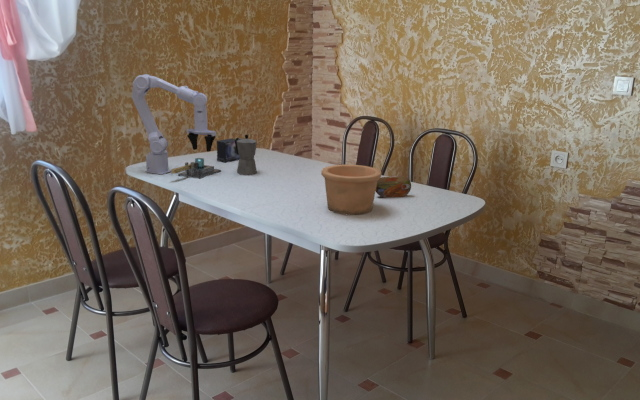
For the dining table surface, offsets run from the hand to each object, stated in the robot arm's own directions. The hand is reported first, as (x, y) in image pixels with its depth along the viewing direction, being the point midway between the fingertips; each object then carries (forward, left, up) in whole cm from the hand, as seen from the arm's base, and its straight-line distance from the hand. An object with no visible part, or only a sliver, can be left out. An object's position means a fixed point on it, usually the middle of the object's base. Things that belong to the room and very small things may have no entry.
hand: (201, 150), depth 249 cm
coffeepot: (+17, +10, -11) cm, 22 cm away
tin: (+90, +4, -11) cm, 91 cm away
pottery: (+81, -20, -11) cm, 84 cm away
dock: (0, -2, -10) cm, 11 cm away
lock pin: (0, -13, -7) cm, 15 cm away
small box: (-5, +29, -11) cm, 31 cm away
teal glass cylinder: (0, -2, -10) cm, 10 cm away
